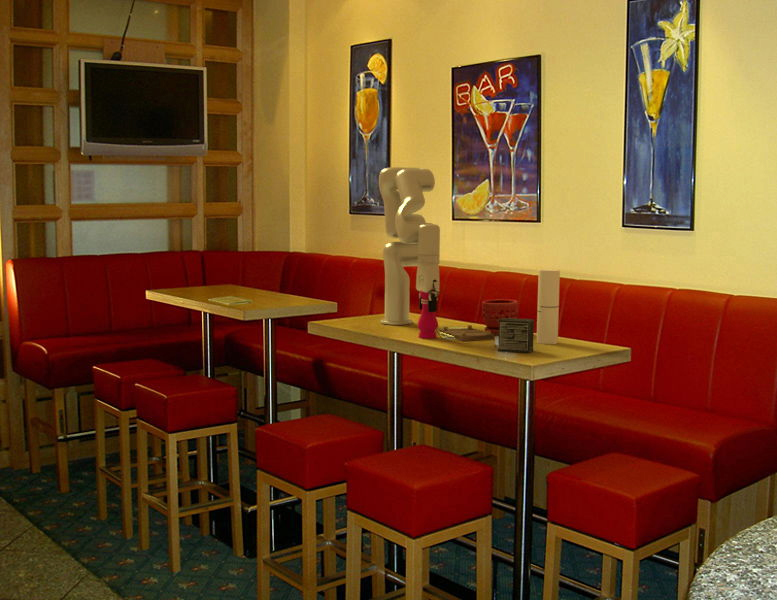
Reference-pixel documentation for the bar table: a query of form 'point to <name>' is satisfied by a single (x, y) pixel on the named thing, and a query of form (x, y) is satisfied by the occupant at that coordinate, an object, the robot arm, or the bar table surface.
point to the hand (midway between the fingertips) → (428, 310)
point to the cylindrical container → (548, 306)
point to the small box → (516, 335)
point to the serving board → (468, 334)
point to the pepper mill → (427, 319)
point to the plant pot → (498, 313)
